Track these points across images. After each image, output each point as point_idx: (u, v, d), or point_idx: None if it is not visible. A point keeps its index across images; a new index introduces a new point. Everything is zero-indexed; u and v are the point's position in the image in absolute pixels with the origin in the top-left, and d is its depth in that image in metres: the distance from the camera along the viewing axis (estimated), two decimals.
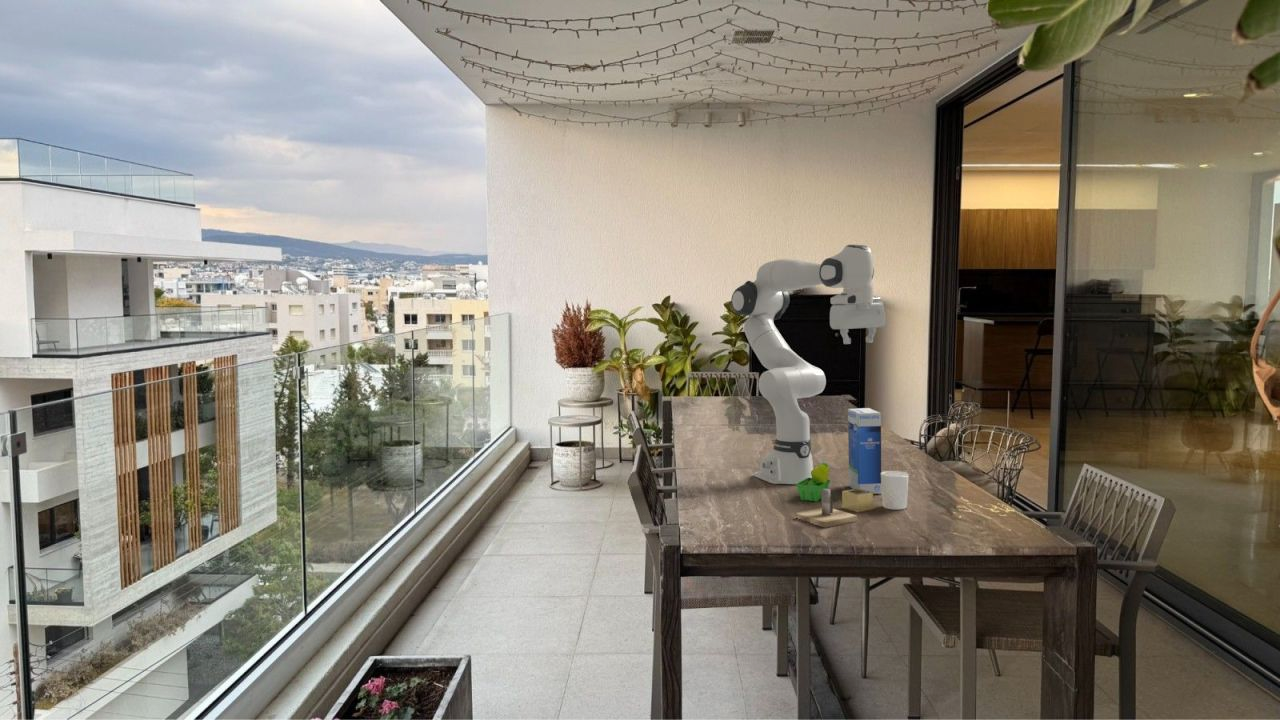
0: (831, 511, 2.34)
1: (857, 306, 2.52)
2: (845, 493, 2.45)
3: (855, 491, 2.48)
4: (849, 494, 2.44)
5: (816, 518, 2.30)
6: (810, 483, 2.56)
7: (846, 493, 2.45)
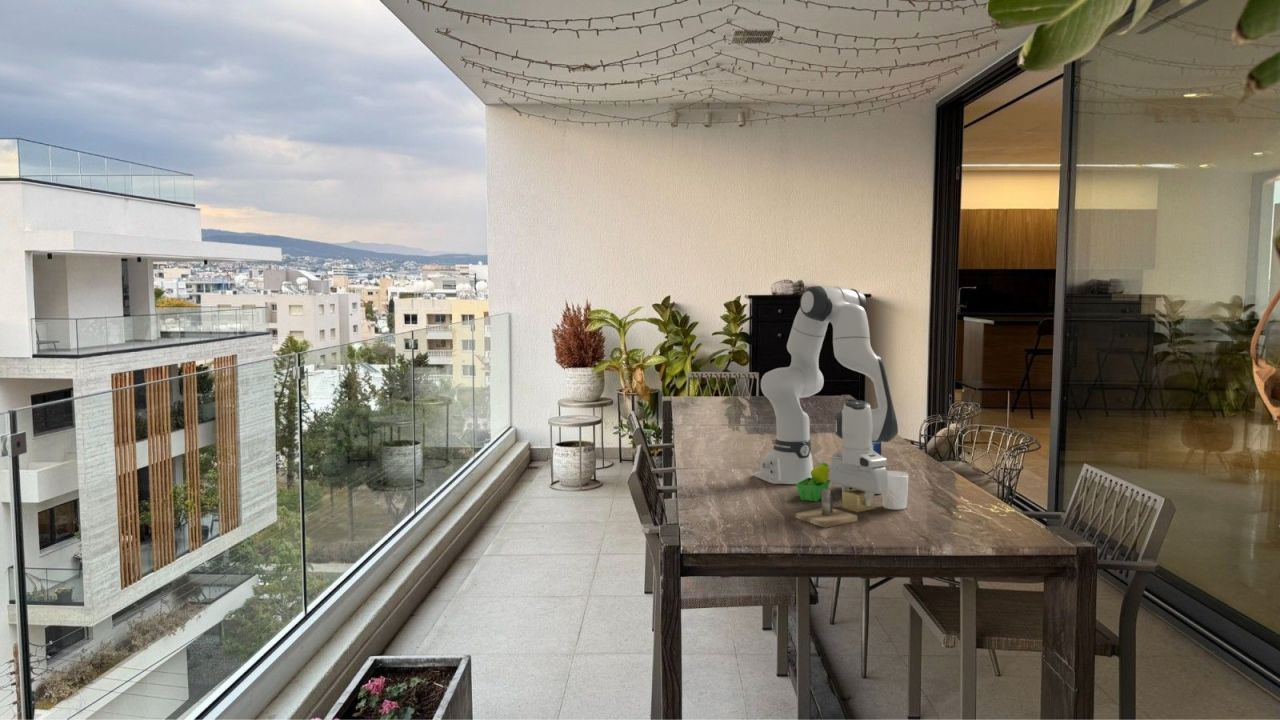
0: (831, 511, 2.34)
1: None
2: (845, 493, 2.45)
3: (855, 491, 2.48)
4: (849, 494, 2.44)
5: (816, 518, 2.30)
6: (810, 483, 2.56)
7: (846, 493, 2.45)
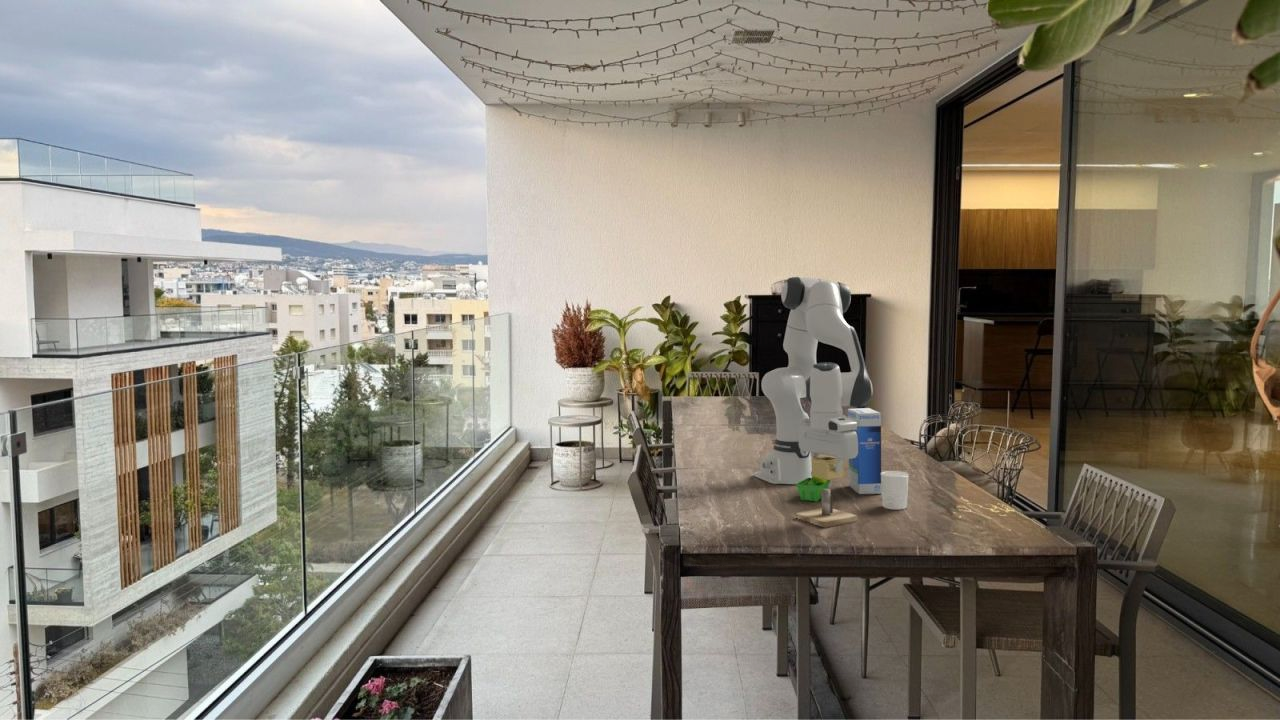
0: (831, 511, 2.34)
1: None
2: (814, 460, 2.33)
3: (825, 458, 2.35)
4: (818, 461, 2.31)
5: (816, 518, 2.30)
6: (810, 483, 2.56)
7: (815, 460, 2.33)
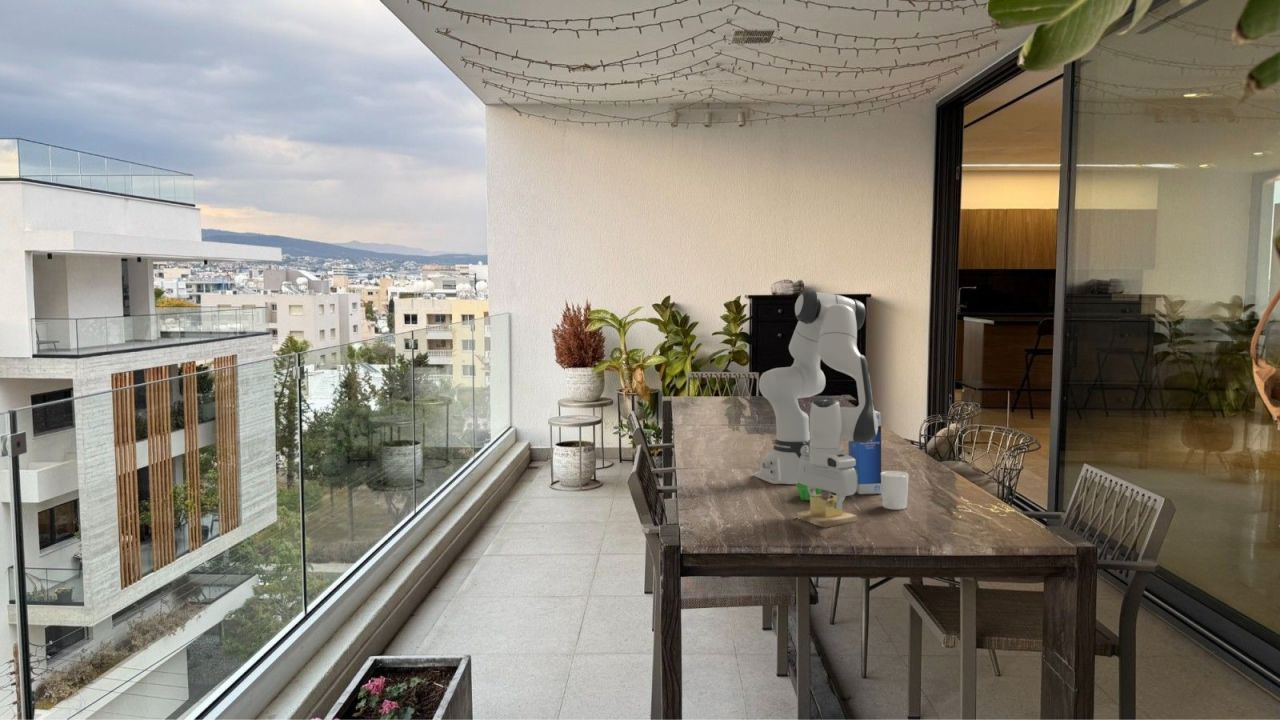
0: None
1: None
2: (813, 498, 2.34)
3: None
4: (817, 499, 2.32)
5: (816, 518, 2.30)
6: None
7: (814, 498, 2.34)
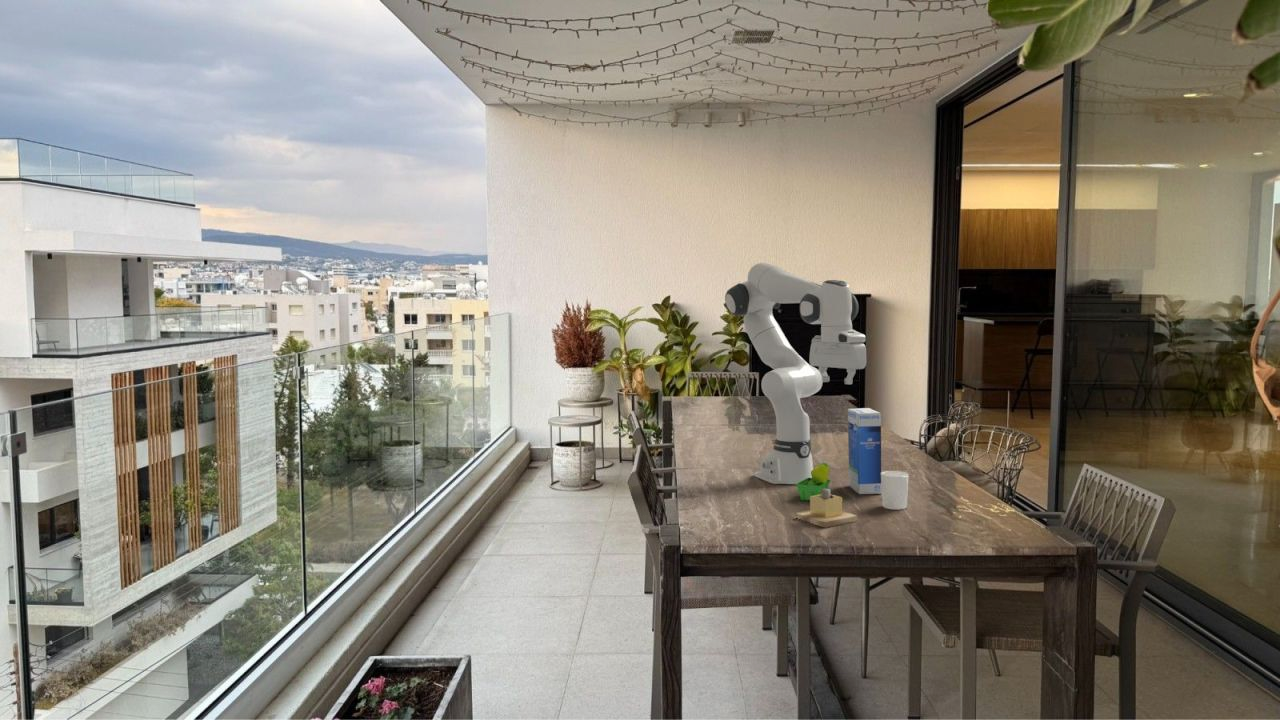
0: None
1: None
2: (813, 498, 2.34)
3: None
4: (817, 499, 2.32)
5: (816, 518, 2.30)
6: (810, 483, 2.56)
7: (814, 498, 2.34)
